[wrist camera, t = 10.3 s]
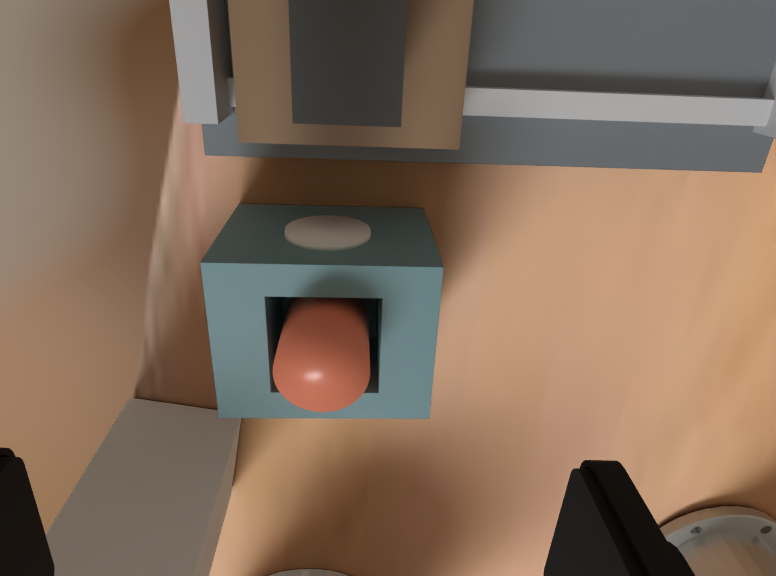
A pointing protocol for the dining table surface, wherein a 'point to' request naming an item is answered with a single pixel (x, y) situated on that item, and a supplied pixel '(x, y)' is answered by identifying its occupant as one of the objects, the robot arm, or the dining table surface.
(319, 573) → the utensil holder
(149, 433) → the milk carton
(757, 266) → the dining table surface
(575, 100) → the rail board
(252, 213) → the cabinet
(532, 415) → the dining table surface
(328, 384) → the button
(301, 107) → the carriage
